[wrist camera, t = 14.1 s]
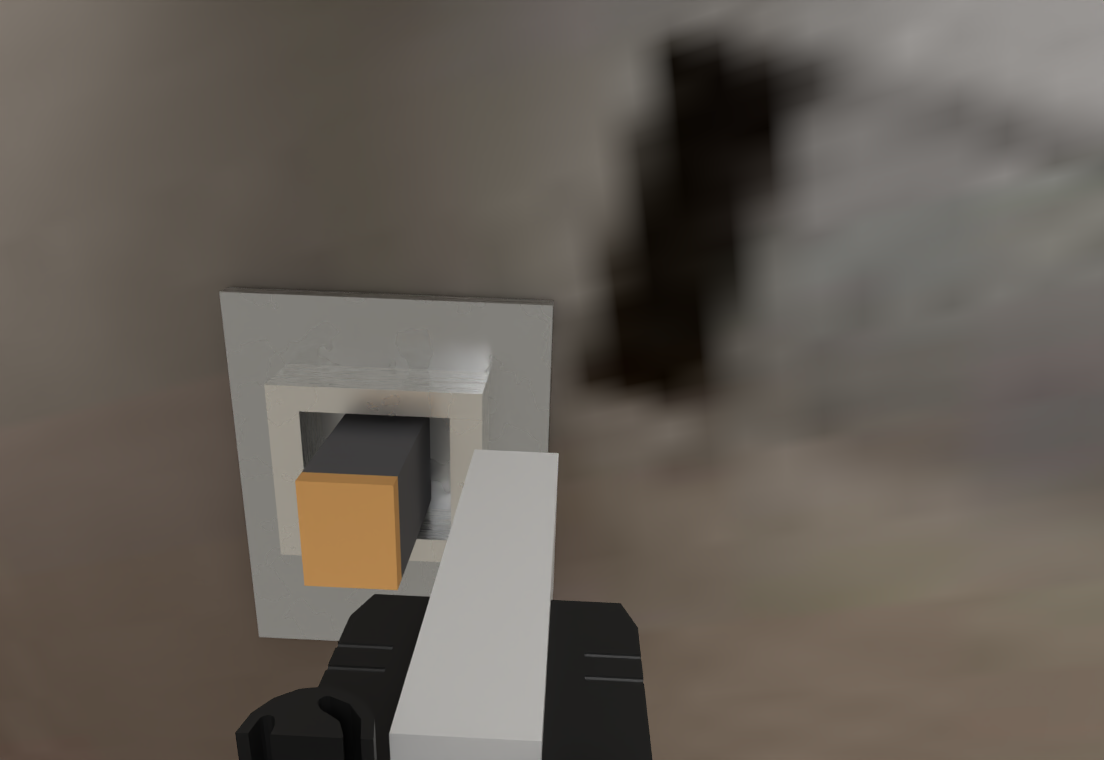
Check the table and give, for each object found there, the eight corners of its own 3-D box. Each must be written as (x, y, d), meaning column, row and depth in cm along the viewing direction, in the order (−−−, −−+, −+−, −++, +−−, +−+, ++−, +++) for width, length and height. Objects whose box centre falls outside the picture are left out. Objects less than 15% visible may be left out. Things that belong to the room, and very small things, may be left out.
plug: (350, 407, 39) (295, 480, 31) (429, 410, 39) (393, 485, 31) (355, 495, 41) (304, 585, 33) (431, 499, 40) (397, 590, 33)
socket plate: (228, 287, 38) (189, 307, 34) (553, 300, 38) (550, 322, 34) (265, 625, 45) (237, 673, 41) (541, 639, 44) (538, 689, 41)
